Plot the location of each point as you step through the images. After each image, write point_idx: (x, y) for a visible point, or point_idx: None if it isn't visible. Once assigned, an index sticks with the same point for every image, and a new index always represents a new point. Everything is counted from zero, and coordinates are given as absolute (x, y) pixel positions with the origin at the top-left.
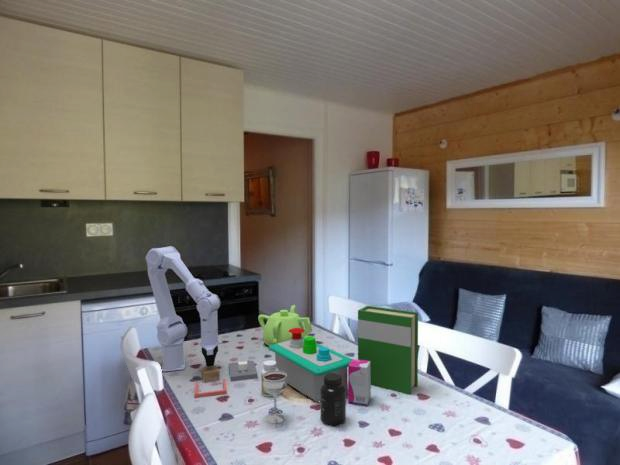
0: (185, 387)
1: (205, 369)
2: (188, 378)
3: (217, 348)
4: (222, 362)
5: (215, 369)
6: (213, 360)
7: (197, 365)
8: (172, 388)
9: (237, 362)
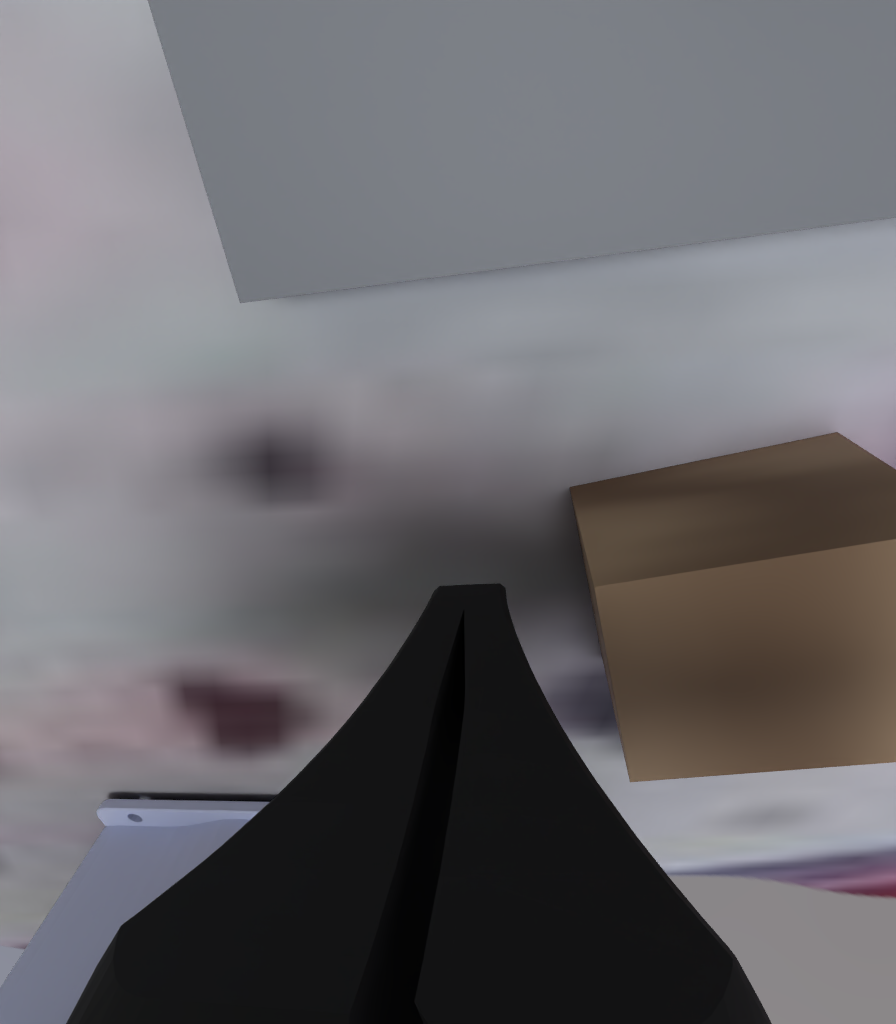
0: (838, 779)
1: (743, 739)
2: (592, 764)
3: (360, 1010)
4: (68, 421)
5: (850, 596)
6: (525, 701)
7: (225, 705)
8: (793, 854)
9: (164, 27)
